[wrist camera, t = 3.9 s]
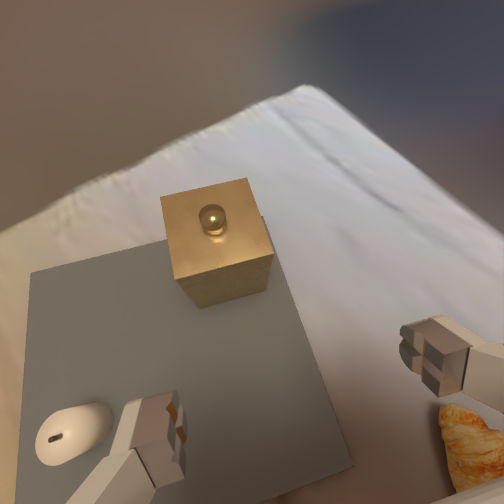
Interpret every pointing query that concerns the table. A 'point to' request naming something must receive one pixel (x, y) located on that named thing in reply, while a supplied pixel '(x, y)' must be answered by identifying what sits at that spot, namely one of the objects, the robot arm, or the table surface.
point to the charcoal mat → (177, 378)
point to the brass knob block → (217, 242)
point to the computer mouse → (73, 432)
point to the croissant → (470, 447)
